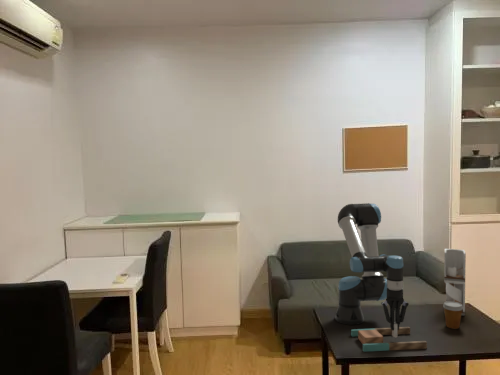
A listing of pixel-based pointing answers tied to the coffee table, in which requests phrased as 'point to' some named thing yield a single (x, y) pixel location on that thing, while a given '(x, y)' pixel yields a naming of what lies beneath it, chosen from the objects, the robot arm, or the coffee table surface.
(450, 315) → the disposable coffee cup
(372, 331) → the wooden block
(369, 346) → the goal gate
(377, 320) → the coffee table surface
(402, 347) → the lane walls
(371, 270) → the robot arm
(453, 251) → the white open shelf
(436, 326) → the coffee table surface
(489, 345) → the coffee table surface
